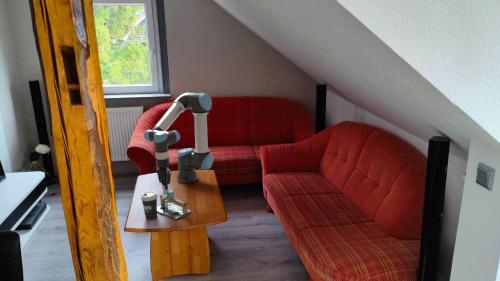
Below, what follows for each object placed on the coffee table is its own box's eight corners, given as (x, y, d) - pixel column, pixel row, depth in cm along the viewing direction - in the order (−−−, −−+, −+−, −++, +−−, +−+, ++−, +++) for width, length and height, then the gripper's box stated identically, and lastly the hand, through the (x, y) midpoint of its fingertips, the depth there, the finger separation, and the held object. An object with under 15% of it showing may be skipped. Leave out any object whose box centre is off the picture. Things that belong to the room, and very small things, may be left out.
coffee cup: (144, 214, 221) (142, 191, 217) (160, 213, 222) (158, 190, 217) (141, 222, 212) (138, 198, 207) (158, 220, 212) (155, 197, 208)
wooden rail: (163, 203, 232) (162, 193, 231) (187, 212, 219) (186, 202, 217) (157, 206, 228) (156, 196, 227) (181, 216, 215) (180, 205, 214)
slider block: (172, 205, 228) (170, 190, 225) (175, 206, 226) (173, 191, 223) (165, 209, 224) (163, 193, 221) (168, 210, 222) (166, 194, 219)
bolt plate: (167, 203, 235) (167, 201, 234) (191, 212, 222) (191, 210, 221) (152, 210, 226) (151, 208, 225) (176, 220, 213) (175, 218, 212)
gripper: (150, 157, 221) (154, 193, 227) (164, 161, 213) (167, 198, 220) (160, 154, 227) (163, 189, 233) (174, 158, 219) (177, 194, 225)
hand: (165, 194), depth 226 cm, fingers closed
